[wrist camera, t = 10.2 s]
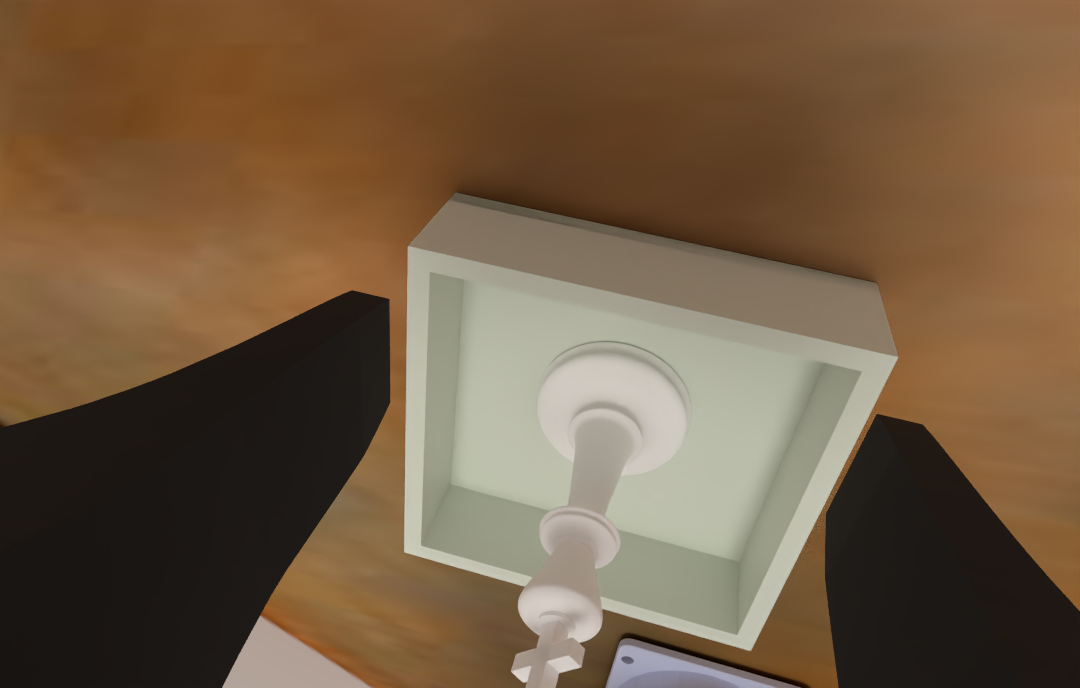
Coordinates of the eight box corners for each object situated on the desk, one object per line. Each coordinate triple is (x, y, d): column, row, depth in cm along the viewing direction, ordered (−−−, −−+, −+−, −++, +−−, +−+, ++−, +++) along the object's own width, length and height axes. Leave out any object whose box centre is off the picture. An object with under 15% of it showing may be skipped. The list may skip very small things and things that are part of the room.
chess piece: (508, 382, 24) (383, 652, 16) (630, 314, 21) (553, 594, 13) (599, 482, 25) (526, 774, 17) (722, 429, 23) (704, 743, 15)
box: (751, 564, 27) (750, 651, 24) (440, 480, 28) (404, 552, 25) (877, 283, 20) (898, 357, 17) (455, 192, 21) (407, 245, 18)
